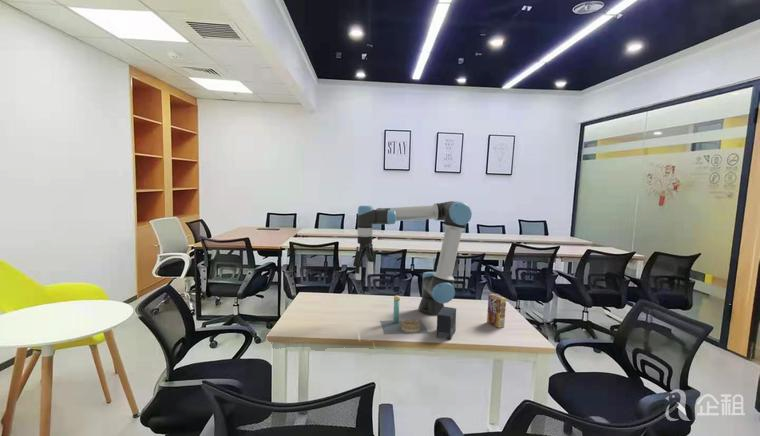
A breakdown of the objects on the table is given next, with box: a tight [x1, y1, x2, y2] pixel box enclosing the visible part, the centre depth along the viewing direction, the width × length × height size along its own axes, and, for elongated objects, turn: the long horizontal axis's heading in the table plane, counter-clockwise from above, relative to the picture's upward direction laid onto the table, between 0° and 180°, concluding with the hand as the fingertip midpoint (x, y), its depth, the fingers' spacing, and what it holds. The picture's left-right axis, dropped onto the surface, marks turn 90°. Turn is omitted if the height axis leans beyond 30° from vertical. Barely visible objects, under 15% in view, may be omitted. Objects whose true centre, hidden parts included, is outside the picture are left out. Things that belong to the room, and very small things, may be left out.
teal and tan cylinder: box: [392, 295, 401, 324], centre depth 181 cm, size 3×3×14 cm
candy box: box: [486, 293, 507, 329], centre depth 185 cm, size 9×4×15 cm, turn 26°
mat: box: [379, 320, 430, 335], centre depth 176 cm, size 22×17×1 cm
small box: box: [436, 306, 457, 341], centre depth 169 cm, size 13×7×12 cm, turn 157°
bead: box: [401, 318, 420, 332], centre depth 174 cm, size 9×9×3 cm
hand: (364, 276), depth 181 cm, fingers open, 13 cm apart
